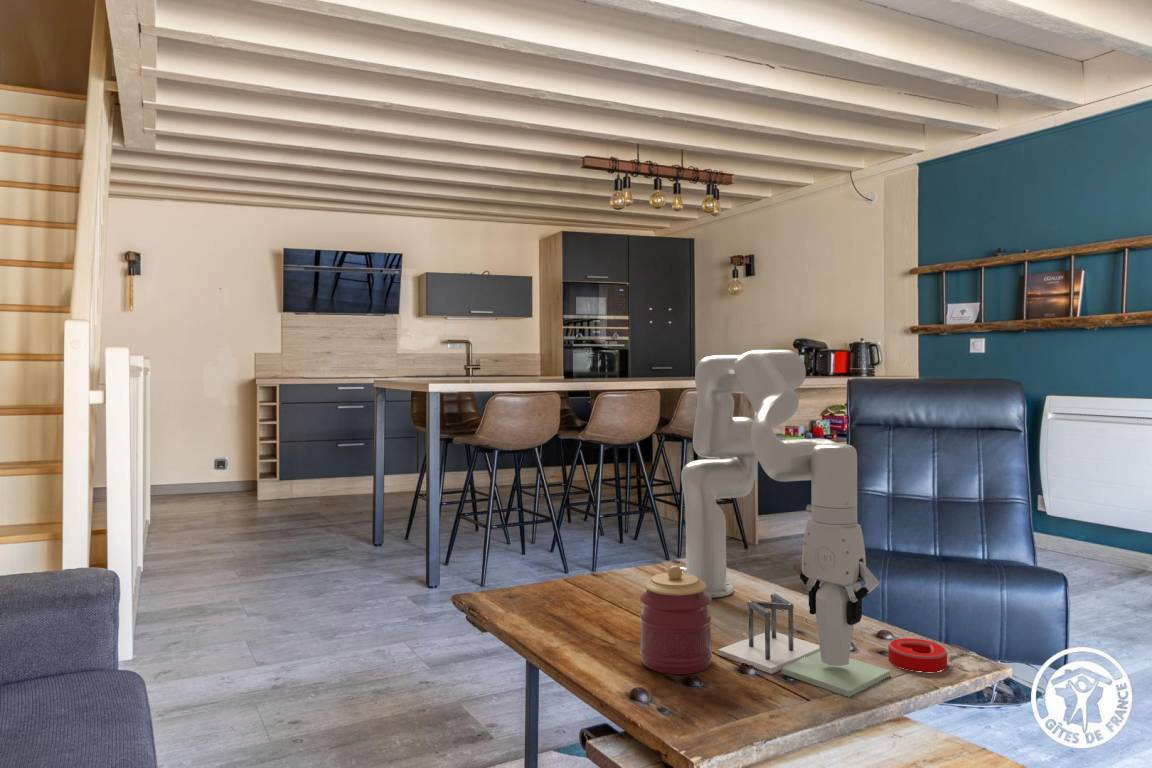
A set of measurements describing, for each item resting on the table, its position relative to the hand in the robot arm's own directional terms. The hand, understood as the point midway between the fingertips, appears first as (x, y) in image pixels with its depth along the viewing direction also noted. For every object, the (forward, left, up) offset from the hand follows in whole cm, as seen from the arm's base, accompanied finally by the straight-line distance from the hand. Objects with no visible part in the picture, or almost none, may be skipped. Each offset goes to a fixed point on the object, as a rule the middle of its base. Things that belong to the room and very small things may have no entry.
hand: (834, 616), depth 133 cm
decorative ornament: (+7, +16, -10) cm, 20 cm away
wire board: (-13, 0, -10) cm, 17 cm away
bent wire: (-13, 0, -10) cm, 17 cm away
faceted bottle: (0, 0, -8) cm, 8 cm away
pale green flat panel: (0, 0, -10) cm, 10 cm away
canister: (-22, -17, -10) cm, 29 cm away
